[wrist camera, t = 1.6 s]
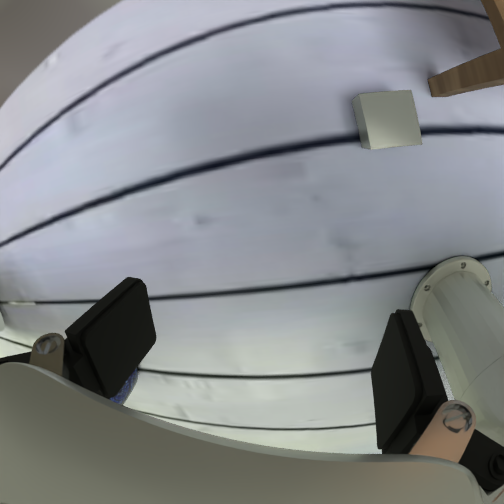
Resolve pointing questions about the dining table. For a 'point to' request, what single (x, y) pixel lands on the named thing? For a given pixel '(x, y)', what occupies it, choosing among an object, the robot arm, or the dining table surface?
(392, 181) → the dining table surface
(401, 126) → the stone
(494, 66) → the frame
